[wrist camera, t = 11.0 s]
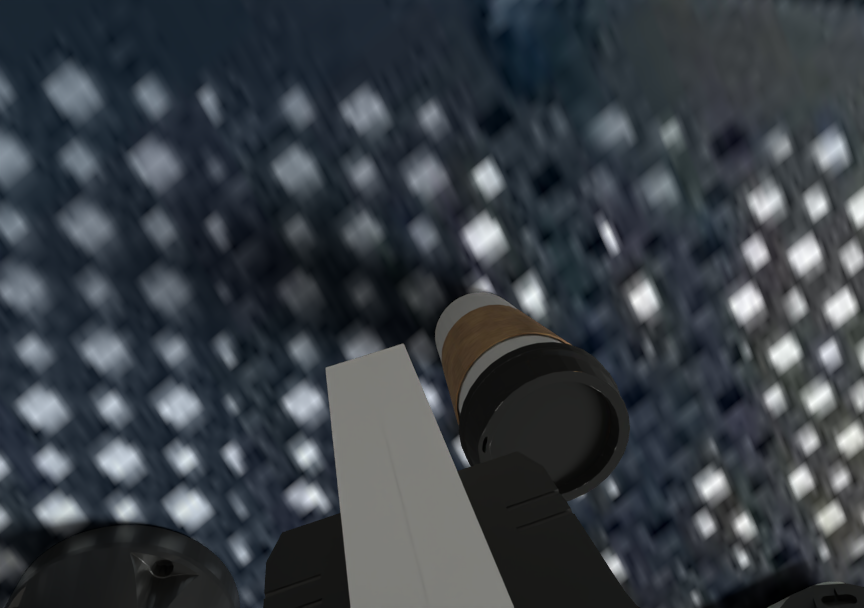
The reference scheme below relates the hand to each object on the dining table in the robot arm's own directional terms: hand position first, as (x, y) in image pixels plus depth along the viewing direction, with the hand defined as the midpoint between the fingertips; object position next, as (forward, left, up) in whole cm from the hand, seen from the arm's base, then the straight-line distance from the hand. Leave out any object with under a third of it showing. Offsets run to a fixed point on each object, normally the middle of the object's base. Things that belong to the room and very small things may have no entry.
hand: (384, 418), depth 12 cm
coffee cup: (+7, -12, -30) cm, 33 cm away
